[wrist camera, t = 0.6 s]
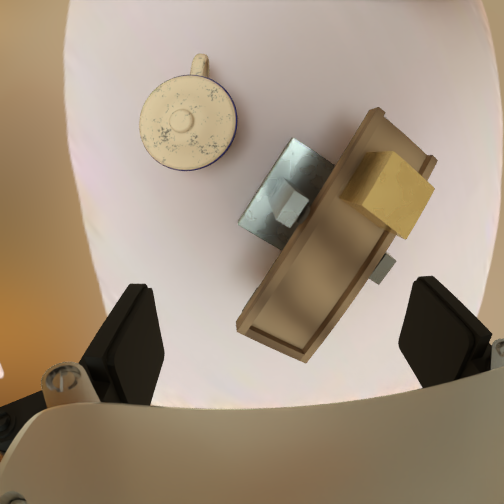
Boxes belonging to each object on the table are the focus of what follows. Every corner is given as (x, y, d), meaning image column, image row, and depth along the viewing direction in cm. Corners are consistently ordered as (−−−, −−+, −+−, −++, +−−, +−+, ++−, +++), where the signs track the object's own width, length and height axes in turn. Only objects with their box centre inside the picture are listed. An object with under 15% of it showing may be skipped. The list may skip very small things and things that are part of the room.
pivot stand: (291, 137, 35) (311, 138, 25) (386, 205, 38) (429, 230, 28) (238, 221, 38) (236, 254, 28) (334, 278, 41) (360, 323, 31)
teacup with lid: (233, 167, 36) (228, 180, 25) (158, 159, 35) (123, 171, 24) (247, 69, 32) (248, 40, 21) (170, 63, 31) (140, 36, 20)
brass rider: (366, 152, 26) (393, 150, 21) (404, 183, 27) (434, 188, 22) (338, 197, 27) (361, 205, 22) (378, 227, 28) (406, 239, 23)
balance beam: (359, 111, 28) (377, 105, 24) (417, 160, 29) (438, 161, 25) (233, 311, 32) (234, 330, 28) (299, 343, 34) (307, 364, 30)
